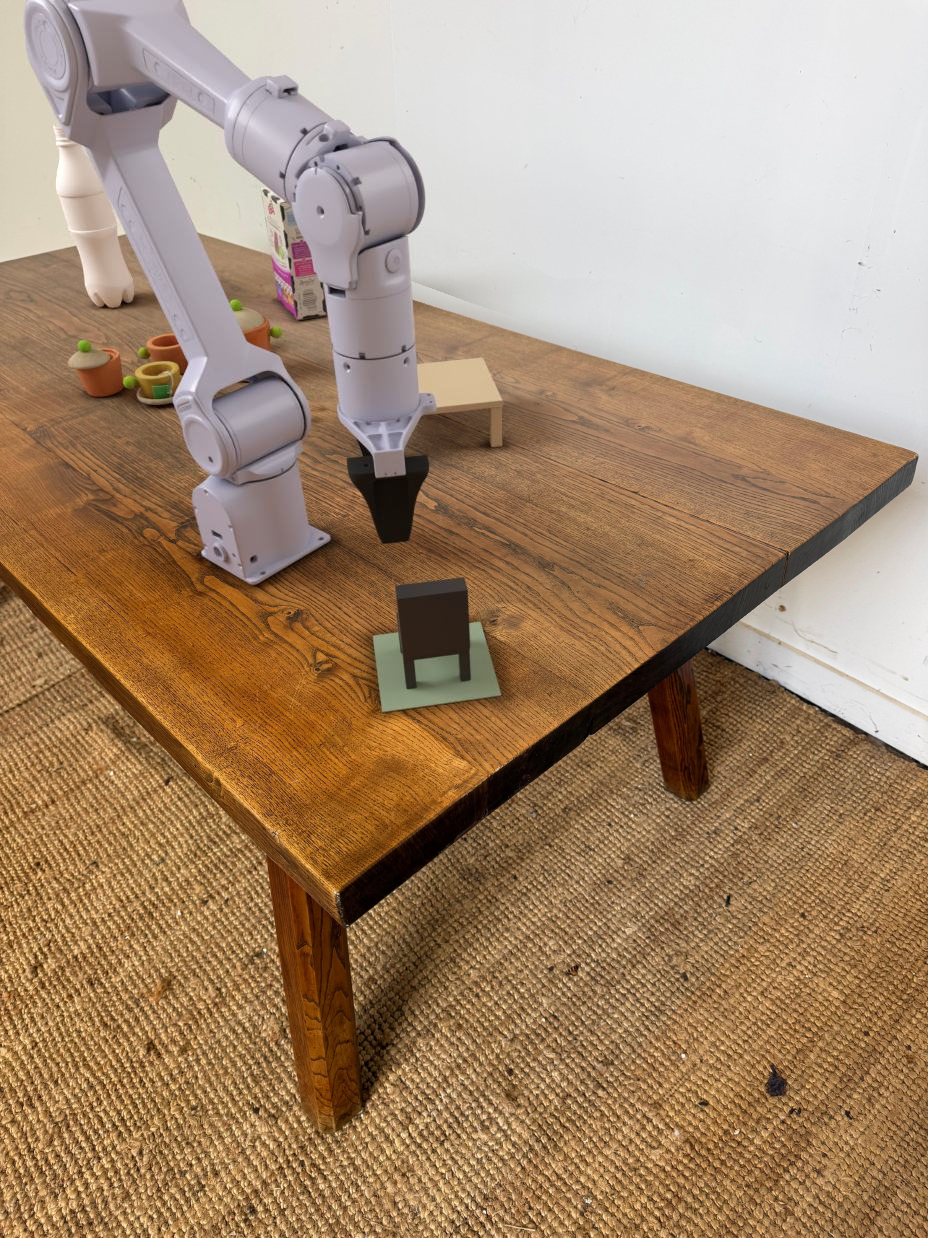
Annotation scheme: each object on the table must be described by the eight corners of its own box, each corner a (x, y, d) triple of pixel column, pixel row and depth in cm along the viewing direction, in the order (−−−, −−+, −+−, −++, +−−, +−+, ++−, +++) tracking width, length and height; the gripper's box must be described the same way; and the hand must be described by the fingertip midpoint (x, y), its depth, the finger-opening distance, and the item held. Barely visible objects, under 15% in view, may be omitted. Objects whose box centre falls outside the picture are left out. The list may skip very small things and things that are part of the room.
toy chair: (472, 684, 67) (467, 589, 62) (407, 693, 67) (396, 598, 61) (461, 639, 71) (456, 547, 66) (399, 647, 71) (389, 555, 65)
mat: (501, 696, 66) (501, 695, 66) (382, 712, 65) (382, 711, 65) (480, 622, 73) (480, 621, 73) (372, 636, 72) (372, 635, 72)
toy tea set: (250, 337, 126) (237, 267, 120) (302, 370, 116) (290, 296, 110) (67, 388, 114) (42, 313, 108) (106, 429, 104) (81, 350, 98)
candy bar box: (329, 315, 131) (314, 197, 121) (297, 321, 130) (278, 202, 120) (307, 294, 139) (291, 181, 129) (277, 299, 138) (257, 185, 128)
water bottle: (81, 308, 138) (26, 129, 122) (108, 293, 143) (58, 119, 128) (121, 311, 136) (69, 129, 121) (146, 296, 142) (100, 119, 126)
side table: (503, 446, 97) (502, 399, 94) (377, 460, 96) (371, 413, 92) (484, 400, 106) (483, 356, 103) (368, 413, 105) (363, 368, 102)
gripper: (446, 381, 55) (454, 559, 63) (419, 302, 66) (430, 462, 75) (332, 391, 54) (356, 571, 63) (325, 310, 65) (346, 471, 74)
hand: (390, 513), depth 69 cm, fingers open, 7 cm apart
